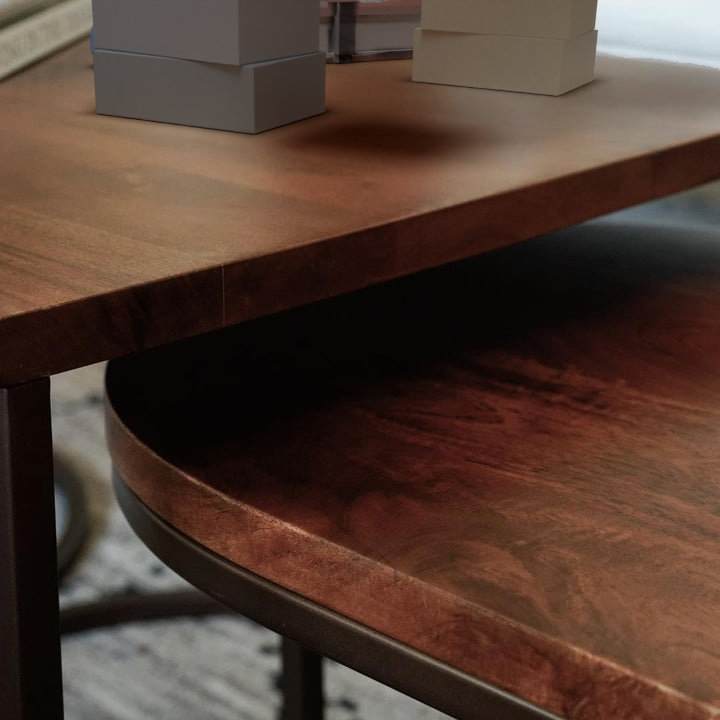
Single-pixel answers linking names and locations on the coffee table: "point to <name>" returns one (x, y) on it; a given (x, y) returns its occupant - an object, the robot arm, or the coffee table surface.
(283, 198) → the coffee table surface
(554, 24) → the cream stack
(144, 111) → the grey stack
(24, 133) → the coffee table surface
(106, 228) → the coffee table surface
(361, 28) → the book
